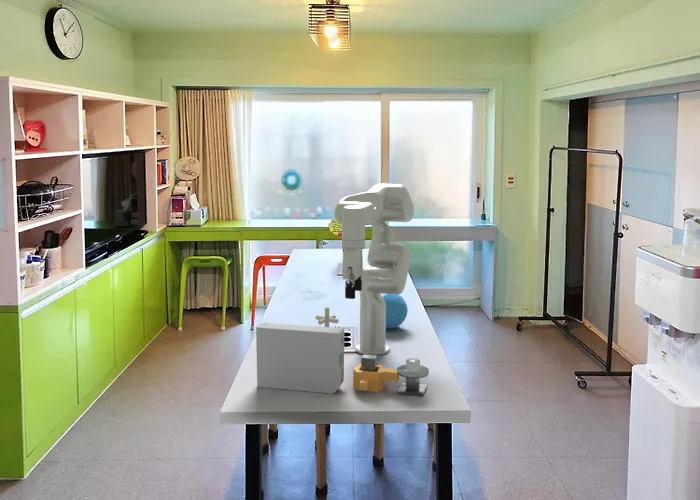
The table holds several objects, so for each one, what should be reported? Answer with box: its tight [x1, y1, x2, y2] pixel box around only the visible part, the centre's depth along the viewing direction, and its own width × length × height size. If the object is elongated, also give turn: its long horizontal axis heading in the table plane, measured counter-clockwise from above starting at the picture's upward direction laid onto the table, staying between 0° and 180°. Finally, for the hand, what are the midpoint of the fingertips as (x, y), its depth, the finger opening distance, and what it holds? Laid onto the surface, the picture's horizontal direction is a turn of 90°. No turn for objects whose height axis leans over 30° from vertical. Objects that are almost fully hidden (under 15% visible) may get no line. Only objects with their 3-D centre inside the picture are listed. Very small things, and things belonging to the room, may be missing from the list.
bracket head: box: [352, 363, 400, 393], centre depth 219 cm, size 12×14×6 cm
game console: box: [255, 322, 345, 395], centre depth 220 cm, size 6×27×20 cm, turn 77°
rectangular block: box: [360, 354, 378, 372], centre depth 222 cm, size 3×4×10 cm
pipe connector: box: [315, 306, 339, 327], centre depth 280 cm, size 10×10×10 cm
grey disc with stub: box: [396, 357, 430, 398], centre depth 218 cm, size 10×10×10 cm
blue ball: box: [382, 294, 408, 330], centre depth 285 cm, size 16×19×15 cm
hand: (353, 294), depth 229 cm, fingers open, 9 cm apart
